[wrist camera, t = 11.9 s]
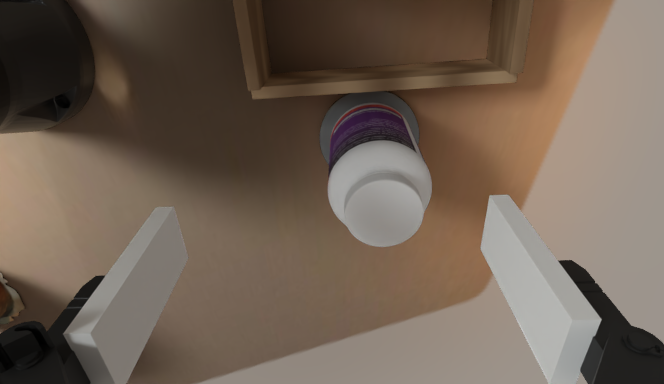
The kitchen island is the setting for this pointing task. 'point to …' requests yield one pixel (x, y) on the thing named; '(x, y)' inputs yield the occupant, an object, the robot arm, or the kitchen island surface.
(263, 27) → the wooden box
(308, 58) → the kitchen island surface
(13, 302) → the vessel
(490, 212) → the robot arm
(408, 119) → the grey oval disc
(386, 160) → the pill bottle
